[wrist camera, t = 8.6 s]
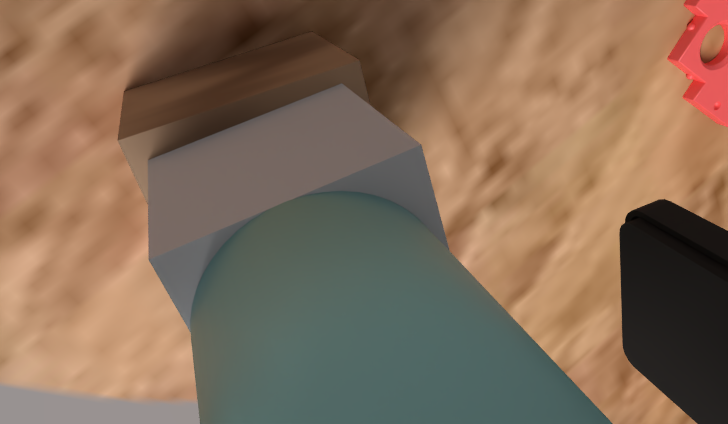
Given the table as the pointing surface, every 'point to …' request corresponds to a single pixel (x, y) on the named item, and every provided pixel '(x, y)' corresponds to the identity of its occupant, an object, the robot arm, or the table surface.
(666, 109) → the table surface
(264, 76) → the walnut base block
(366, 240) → the teal cylinder
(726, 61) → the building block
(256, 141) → the grey top block
